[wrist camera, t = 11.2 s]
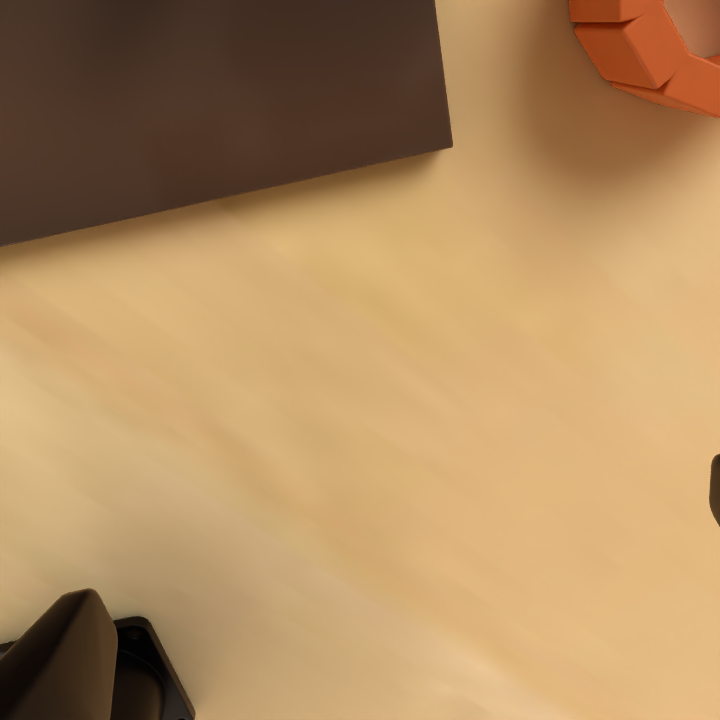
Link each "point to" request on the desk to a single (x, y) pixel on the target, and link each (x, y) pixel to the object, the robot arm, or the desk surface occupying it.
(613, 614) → the desk surface
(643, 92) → the ring
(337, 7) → the peg board
